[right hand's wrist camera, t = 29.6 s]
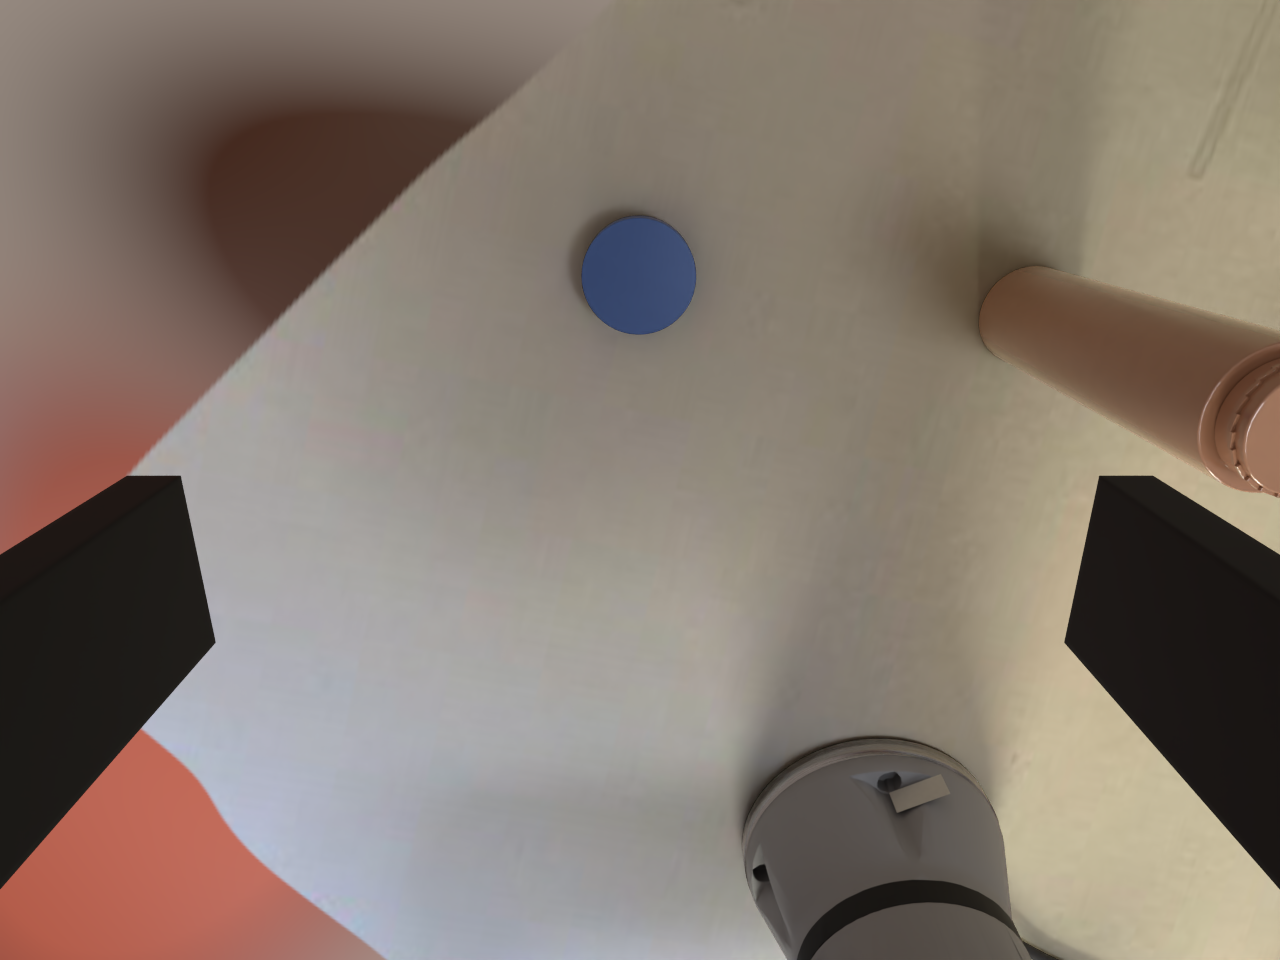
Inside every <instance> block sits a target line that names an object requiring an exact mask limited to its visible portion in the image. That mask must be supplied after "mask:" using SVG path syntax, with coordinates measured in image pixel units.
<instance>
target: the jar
mask: <svg viewBox="0 0 1280 960" xmlns="http://www.w3.org/2000/svg"><path fill="white" fill-rule="evenodd" d="M979 330H980V334H981V337H982V340H983V342H984V344H985V345H986V347H987V348H988V349H989V351H990V352H991V353H993V354H994V355H995V356H996V357H998V358H1000V359H1001V360H1003V361H1005V362H1007V363H1008V364H1010V365H1012V366H1014V367H1016V368H1017V369H1019V370H1021V371H1023V372H1025V373H1026V374H1028V375H1030V376H1032V377H1033V378H1035V379H1037V380H1039V381H1041V382H1042V383H1044V384H1046V385H1048V386H1049V387H1051V388H1053V389H1055V390H1057V391H1058V392H1060V393H1062V394H1064V395H1065V396H1067V397H1069V398H1071V399H1073V400H1074V401H1076V402H1078V403H1080V404H1081V405H1083V406H1085V407H1087V408H1089V409H1090V410H1092V411H1094V412H1096V413H1097V414H1099V415H1101V416H1103V417H1105V418H1106V419H1108V420H1110V421H1112V422H1113V423H1115V424H1117V425H1119V426H1121V427H1122V428H1124V429H1126V430H1128V431H1130V432H1131V433H1133V434H1135V435H1137V436H1138V437H1140V438H1142V439H1144V440H1146V441H1147V442H1149V443H1151V444H1153V445H1154V446H1156V447H1158V448H1160V449H1162V450H1163V451H1165V452H1167V453H1169V454H1170V455H1172V456H1174V457H1176V458H1178V459H1179V460H1181V461H1183V462H1185V463H1186V464H1188V465H1190V466H1192V467H1194V468H1195V469H1197V470H1199V471H1201V472H1202V473H1204V474H1206V475H1208V476H1210V477H1211V478H1213V479H1215V480H1217V481H1218V482H1220V483H1222V484H1224V485H1226V486H1228V487H1230V488H1233V489H1236V490H1240V491H1245V492H1260V493H1262V492H1264V493H1267V494H1270V495H1273V496H1275V497H1280V330H1276V329H1272V328H1269V327H1265V326H1261V325H1258V324H1254V323H1250V322H1246V321H1243V320H1239V319H1235V318H1232V317H1228V316H1224V315H1221V314H1217V313H1213V312H1210V311H1206V310H1202V309H1199V308H1195V307H1191V306H1188V305H1184V304H1180V303H1177V302H1173V301H1169V300H1166V299H1162V298H1158V297H1155V296H1151V295H1147V294H1144V293H1140V292H1136V291H1133V290H1129V289H1125V288H1122V287H1118V286H1114V285H1111V284H1107V283H1103V282H1100V281H1096V280H1092V279H1088V278H1085V277H1081V276H1077V275H1074V274H1070V273H1066V272H1063V271H1059V270H1055V269H1052V268H1048V267H1043V266H1029V267H1024V268H1020V269H1018V270H1015V271H1013V272H1011V273H1009V274H1007V275H1006V276H1004V277H1003V278H1002V279H1000V280H999V281H998V282H997V283H996V284H995V285H994V286H993V287H992V289H991V290H990V291H989V293H988V294H987V296H986V298H985V300H984V302H983V304H982V307H981V311H980V316H979Z"/></svg>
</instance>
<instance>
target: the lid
mask: <svg viewBox="0 0 1280 960" xmlns="http://www.w3.org/2000/svg"><path fill="white" fill-rule="evenodd" d="M695 284H696V268H695V263H694V259H693V256H692V253H691V251H690V249H689V247H688V245H687V244H686V242H685V240H684V239H683V237H682V236H681V235H680V234H679V233H678V232H677V231H676V230H675V229H674V228H673V227H671V226H670V225H669V224H667V223H665V222H664V221H662V220H659V219H656V218H653V217H649V216H629V217H624V218H621V219H618V220H616V221H614V222H612V223H611V224H609V225H608V226H606V227H605V228H604V229H603V230H601V231H600V232H599V233H598V235H597V236H596V237H595V238H594V240H593V241H592V243H591V244H590V246H589V248H588V250H587V252H586V255H585V258H584V261H583V266H582V286H583V291H584V294H585V297H586V300H587V302H588V304H589V306H590V307H591V309H592V310H593V312H594V313H595V314H596V315H597V317H598V318H600V319H601V320H602V321H603V322H604V323H606V324H607V325H608V326H610V327H612V328H614V329H616V330H618V331H621V332H624V333H628V334H649V333H653V332H657V331H660V330H662V329H664V328H666V327H668V326H669V325H671V324H672V323H674V322H675V321H676V320H677V319H678V318H679V317H680V316H681V315H682V314H683V313H684V311H685V310H686V308H687V307H688V305H689V303H690V301H691V299H692V296H693V293H694V289H695Z"/></svg>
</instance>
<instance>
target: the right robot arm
mask: <svg viewBox="0 0 1280 960" xmlns="http://www.w3.org/2000/svg"><path fill="white" fill-rule="evenodd" d="M215 643H216V642H215V637H214V632H213V628H212V623H211V618H210V613H209V608H208V604H207V599H206V594H205V589H204V585H203V580H202V575H201V570H200V566H199V561H198V556H197V551H196V547H195V542H194V537H193V532H192V528H191V523H190V518H189V513H188V508H187V504H186V499H185V494H184V489H183V485H182V480H181V476H126V477H124V478H123V479H121V480H119V481H118V482H116V483H115V484H113V485H111V486H110V487H108V488H107V489H105V490H104V491H102V492H100V493H99V494H97V495H95V496H94V497H92V498H91V499H89V500H87V501H86V502H84V503H83V504H81V505H79V506H78V507H76V508H75V509H73V510H71V511H70V512H68V513H66V514H65V515H63V516H62V517H60V518H59V519H57V520H55V521H54V522H52V523H50V524H49V525H47V526H46V527H44V528H43V529H41V530H39V531H38V532H36V533H34V534H33V535H31V536H30V537H28V538H26V539H25V540H23V541H22V542H20V543H18V544H17V545H15V546H14V547H12V548H10V549H9V550H7V551H6V552H4V553H2V554H1V555H0V889H1V888H2V887H3V886H4V884H5V883H6V882H7V881H8V880H9V879H10V877H11V876H12V875H13V874H14V873H15V872H16V871H17V869H18V868H19V867H20V866H21V865H22V864H23V862H24V861H25V860H26V859H27V858H28V857H29V856H30V855H31V853H32V852H33V851H34V850H35V849H36V848H37V847H38V845H39V844H40V843H41V842H42V841H43V840H44V838H45V837H46V836H47V835H48V834H49V833H50V832H51V830H52V829H53V828H54V827H55V826H56V825H57V824H58V822H59V821H60V820H61V819H62V818H63V817H64V816H65V814H66V813H67V812H68V811H69V810H70V809H71V808H72V806H73V805H74V804H75V803H76V802H77V801H78V800H79V798H80V797H81V796H82V795H83V794H84V793H85V792H86V790H87V789H88V788H89V787H90V786H91V785H92V784H93V782H94V781H95V780H96V779H97V778H98V777H99V776H100V774H101V773H102V772H103V771H104V770H105V769H106V768H107V766H108V765H109V764H110V763H111V762H112V761H113V759H114V758H115V757H116V756H117V755H118V754H119V753H120V751H121V750H122V749H123V748H124V747H125V746H126V745H127V743H128V742H129V741H130V740H131V739H132V738H133V737H134V735H135V734H136V733H137V732H138V731H139V730H140V729H141V727H142V726H143V725H144V724H145V723H146V722H147V721H148V719H149V718H150V717H151V716H152V715H153V714H154V713H155V711H156V710H157V709H158V708H159V707H160V706H161V705H162V703H163V702H164V701H165V700H166V699H167V698H168V697H169V695H170V694H171V693H172V692H173V691H174V690H175V688H176V687H177V686H178V685H179V684H180V683H181V682H182V680H183V679H184V678H185V677H186V676H187V675H188V674H189V672H190V671H191V670H192V669H193V668H194V667H195V666H196V664H197V663H198V662H199V661H200V660H201V659H202V658H203V656H204V655H205V654H206V653H207V652H208V651H209V650H210V648H211V647H212V646H213V645H214V644H215ZM1064 643H1065V644H1066V645H1067V646H1068V647H1069V648H1070V650H1071V651H1072V652H1073V653H1074V654H1075V655H1076V656H1077V658H1078V659H1079V660H1080V661H1081V662H1082V663H1083V664H1084V666H1085V667H1086V668H1087V669H1088V670H1089V671H1090V672H1091V674H1092V675H1093V676H1094V677H1095V678H1096V679H1097V680H1098V682H1099V683H1100V684H1101V685H1102V686H1103V687H1104V688H1105V690H1106V691H1107V692H1108V693H1109V694H1110V695H1111V697H1112V698H1113V699H1114V700H1115V701H1116V702H1117V703H1118V705H1119V706H1120V707H1121V708H1122V709H1123V710H1124V711H1125V713H1126V714H1127V715H1128V716H1129V717H1130V718H1131V719H1132V721H1133V722H1134V723H1135V724H1136V725H1137V726H1138V727H1139V729H1140V730H1141V731H1142V732H1143V733H1144V734H1145V735H1146V737H1147V738H1148V739H1149V740H1150V741H1151V742H1152V743H1153V745H1154V746H1155V747H1156V748H1157V749H1158V750H1159V751H1160V753H1161V754H1162V755H1163V756H1164V757H1165V758H1166V760H1167V761H1168V762H1169V763H1170V764H1171V765H1172V766H1173V768H1174V769H1175V770H1176V771H1177V772H1178V773H1179V774H1180V776H1181V777H1182V778H1183V779H1184V780H1185V781H1186V782H1187V784H1188V785H1189V786H1190V787H1191V788H1192V789H1193V790H1194V792H1195V793H1196V794H1197V795H1198V796H1199V797H1200V798H1201V800H1202V801H1203V802H1204V803H1205V804H1206V805H1207V806H1208V808H1209V809H1210V810H1211V811H1212V812H1213V813H1214V814H1215V816H1216V817H1217V818H1218V819H1219V820H1220V821H1221V823H1222V824H1223V825H1224V826H1225V827H1226V828H1227V829H1228V831H1229V832H1230V833H1231V834H1232V835H1233V836H1234V837H1235V839H1236V840H1237V841H1238V842H1239V843H1240V844H1241V845H1242V847H1243V848H1244V849H1245V850H1246V851H1247V852H1248V853H1249V855H1250V856H1251V857H1252V858H1253V859H1254V860H1255V861H1256V863H1257V864H1258V865H1259V866H1260V867H1261V868H1262V869H1263V871H1264V872H1265V873H1266V874H1267V875H1268V876H1269V877H1270V879H1271V880H1272V881H1273V882H1274V883H1275V884H1276V886H1277V887H1278V888H1279V889H1280V555H1279V554H1278V553H1276V552H1275V551H1273V550H1271V549H1270V548H1268V547H1267V546H1265V545H1263V544H1262V543H1260V542H1258V541H1257V540H1255V539H1254V538H1252V537H1250V536H1249V535H1247V534H1246V533H1244V532H1242V531H1241V530H1239V529H1238V528H1236V527H1234V526H1233V525H1231V524H1230V523H1228V522H1226V521H1225V520H1223V519H1222V518H1220V517H1218V516H1217V515H1215V514H1214V513H1212V512H1210V511H1209V510H1207V509H1205V508H1204V507H1202V506H1201V505H1199V504H1197V503H1196V502H1194V501H1193V500H1191V499H1189V498H1188V497H1186V496H1185V495H1183V494H1181V493H1180V492H1178V491H1177V490H1175V489H1173V488H1172V487H1170V486H1169V485H1167V484H1165V483H1164V482H1162V481H1161V480H1159V479H1157V478H1156V477H1154V476H1099V480H1098V485H1097V489H1096V494H1095V499H1094V504H1093V508H1092V513H1091V518H1090V523H1089V528H1088V532H1087V537H1086V542H1085V547H1084V551H1083V556H1082V561H1081V566H1080V570H1079V575H1078V580H1077V585H1076V589H1075V594H1074V599H1073V604H1072V608H1071V613H1070V618H1069V623H1068V628H1067V632H1066V637H1065V642H1064ZM742 851H743V858H744V865H745V872H746V878H747V882H748V885H749V888H750V891H751V893H752V896H753V899H754V902H755V904H756V906H757V908H758V910H759V911H760V913H761V915H762V917H763V918H764V920H765V922H766V923H767V925H768V927H769V929H770V930H771V932H772V934H773V936H774V937H775V939H776V941H777V943H778V944H779V946H780V948H781V950H782V951H783V953H784V955H785V956H786V958H787V960H1058V959H1056V958H1054V957H1052V956H1050V955H1048V954H1046V953H1044V952H1042V951H1040V950H1038V949H1036V948H1034V947H1033V946H1031V945H1029V944H1027V943H1025V942H1023V941H1022V940H1021V938H1020V936H1019V934H1018V931H1017V929H1016V927H1015V925H1014V923H1013V921H1012V916H1011V907H1010V897H1009V887H1008V877H1007V868H1006V859H1005V849H1004V841H1003V836H1002V833H1001V829H1000V826H999V822H998V819H997V816H996V814H995V811H994V809H993V808H992V806H991V804H990V802H989V800H988V798H987V796H986V795H985V793H984V791H983V789H982V787H981V786H980V784H979V783H978V782H977V780H976V779H975V778H974V776H973V775H972V774H971V773H970V772H969V771H968V770H967V769H966V768H964V767H963V766H962V765H961V764H960V763H958V762H957V761H955V760H954V759H952V758H951V757H949V756H947V755H946V754H944V753H942V752H940V751H938V750H935V749H933V748H930V747H928V746H924V745H921V744H918V743H914V742H909V741H904V740H896V739H863V740H855V741H850V742H845V743H840V744H837V745H833V746H829V747H827V748H824V749H821V750H819V751H816V752H814V753H812V754H810V755H807V756H805V757H804V758H802V759H800V760H798V761H797V762H795V763H793V764H792V765H790V766H789V767H787V768H786V769H785V770H783V771H782V772H781V773H780V774H779V775H777V776H776V777H775V778H774V779H773V780H772V781H771V782H770V783H769V784H768V785H767V786H766V787H765V789H764V790H763V791H762V792H761V794H760V795H759V797H758V798H757V800H756V801H755V803H754V804H753V806H752V808H751V810H750V812H749V815H748V818H747V820H746V823H745V827H744V832H743V840H742Z"/></svg>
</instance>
